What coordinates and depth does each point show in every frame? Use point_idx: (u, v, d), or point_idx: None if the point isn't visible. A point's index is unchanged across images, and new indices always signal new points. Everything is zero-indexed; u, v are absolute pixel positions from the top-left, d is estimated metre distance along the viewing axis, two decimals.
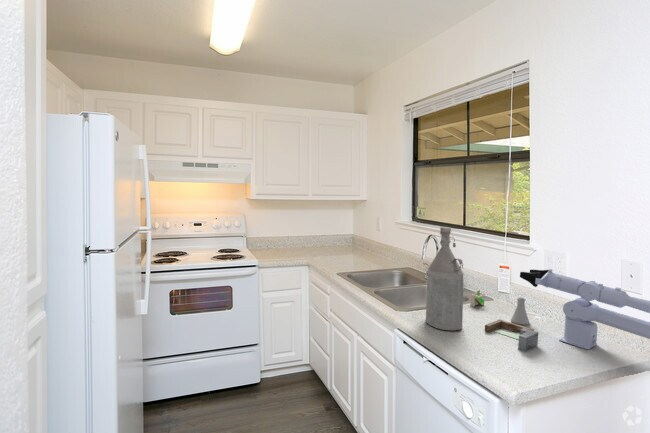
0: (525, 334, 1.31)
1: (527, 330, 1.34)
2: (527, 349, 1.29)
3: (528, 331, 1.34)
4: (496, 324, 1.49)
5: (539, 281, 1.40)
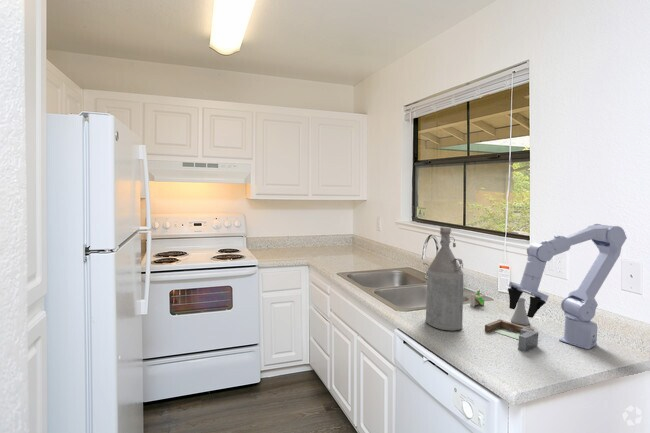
0: (525, 334, 1.31)
1: (527, 330, 1.34)
2: (527, 349, 1.29)
3: (528, 331, 1.34)
4: (496, 324, 1.49)
5: (545, 296, 1.28)
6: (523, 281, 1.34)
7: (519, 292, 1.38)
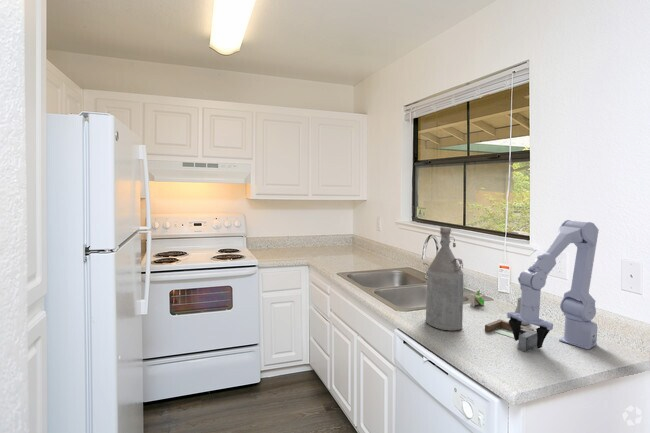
0: (525, 334, 1.31)
1: (527, 330, 1.35)
2: (527, 349, 1.29)
3: (528, 331, 1.34)
4: (496, 324, 1.49)
5: (551, 325, 1.25)
6: (524, 313, 1.29)
7: (519, 321, 1.35)
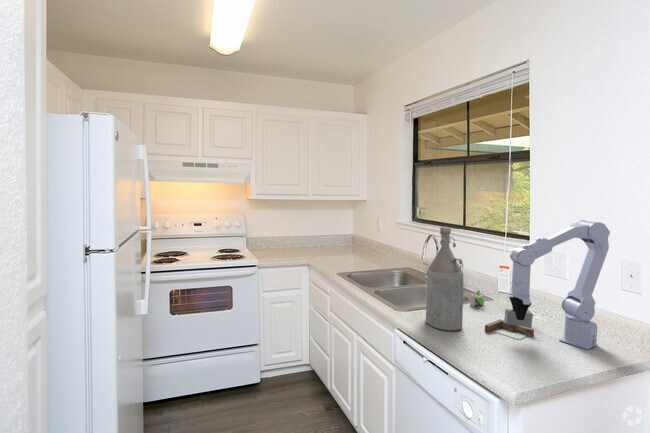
0: (514, 310, 1.37)
1: None
2: (509, 322, 1.36)
3: None
4: (496, 324, 1.49)
5: (526, 300, 1.29)
6: None
7: None
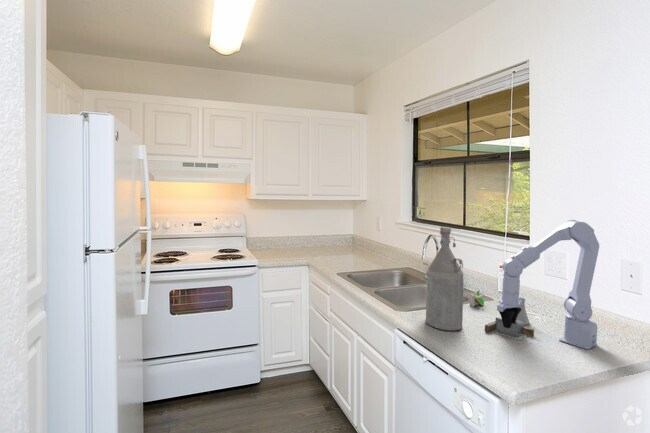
0: None
1: (518, 322, 1.42)
2: (497, 329, 1.45)
3: (515, 322, 1.42)
4: None
5: (499, 307, 1.38)
6: None
7: (514, 309, 1.43)
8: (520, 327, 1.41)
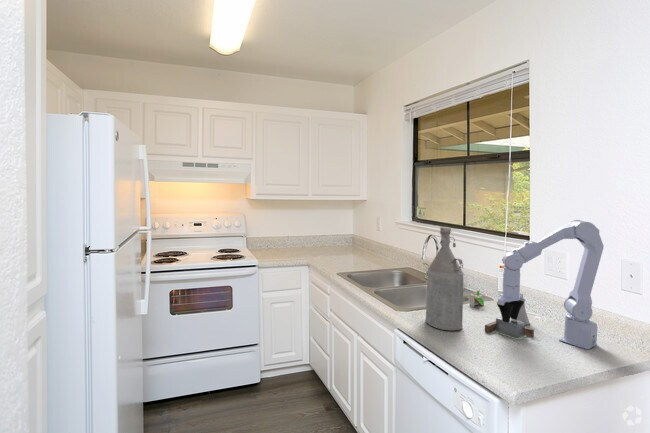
0: None
1: (518, 322, 1.42)
2: (498, 330, 1.46)
3: (515, 322, 1.42)
4: None
5: (499, 300, 1.38)
6: None
7: (516, 302, 1.43)
8: (521, 327, 1.41)
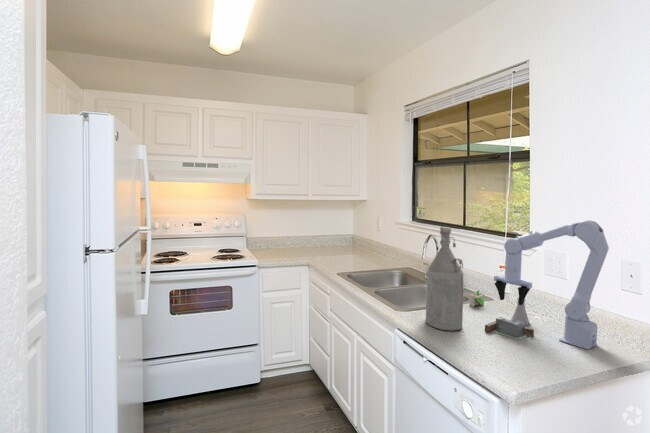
0: (505, 319, 1.45)
1: (518, 322, 1.42)
2: (498, 330, 1.46)
3: (515, 322, 1.42)
4: None
5: (530, 284, 1.45)
6: (507, 275, 1.50)
7: (504, 283, 1.55)
8: (521, 327, 1.41)
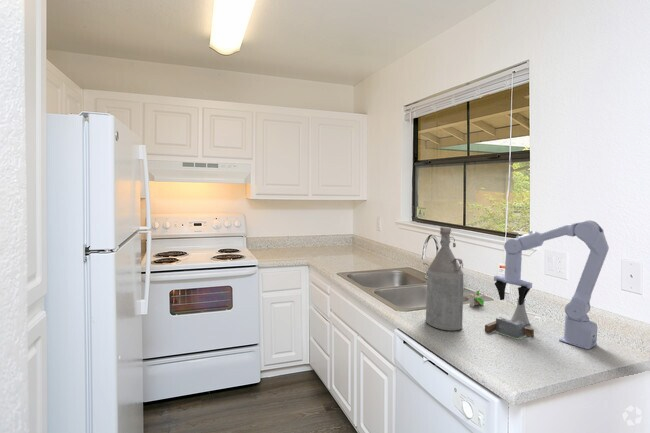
0: (505, 319, 1.45)
1: (518, 322, 1.42)
2: (498, 330, 1.46)
3: (515, 322, 1.42)
4: None
5: (530, 284, 1.45)
6: (507, 275, 1.50)
7: (504, 283, 1.55)
8: (521, 327, 1.41)
